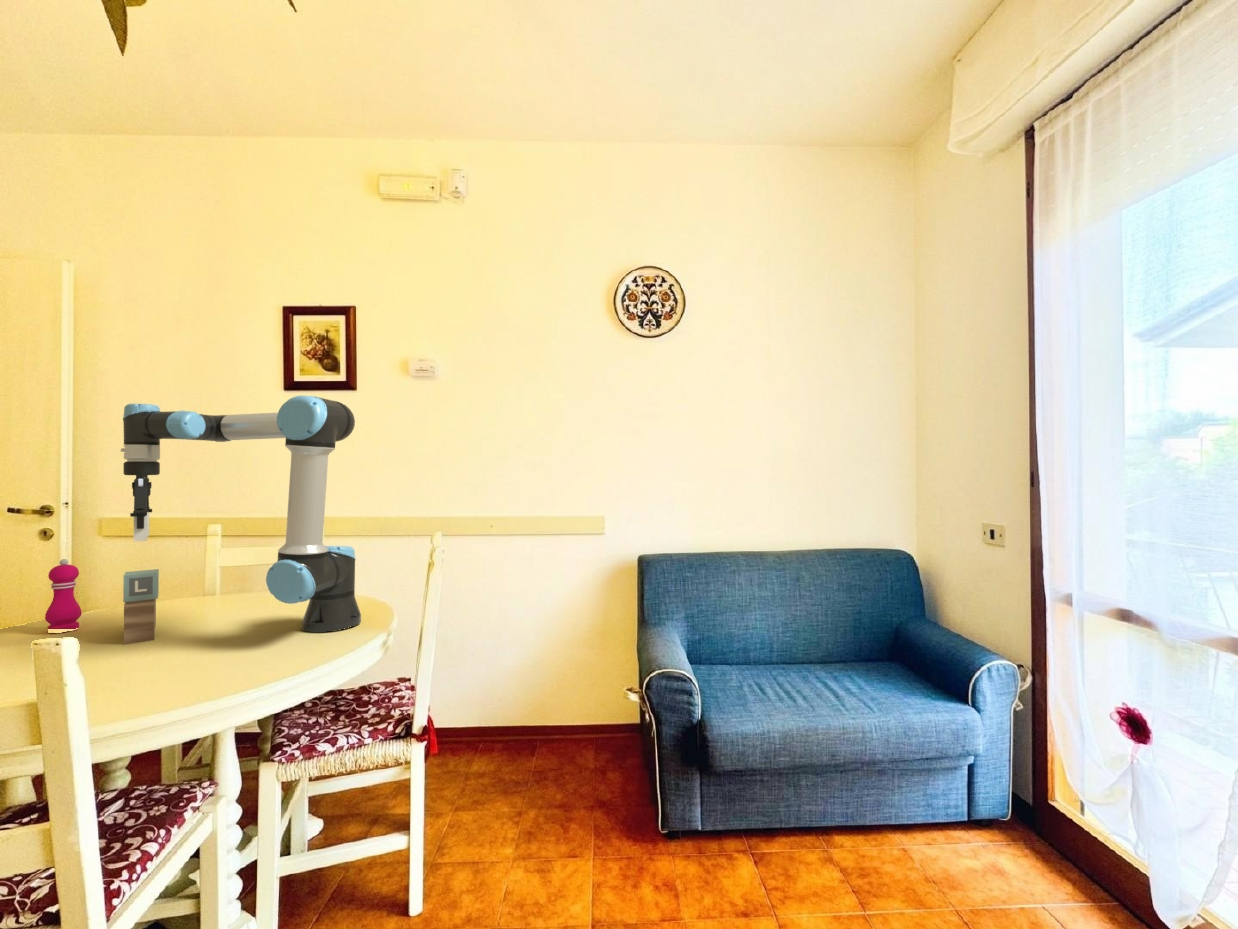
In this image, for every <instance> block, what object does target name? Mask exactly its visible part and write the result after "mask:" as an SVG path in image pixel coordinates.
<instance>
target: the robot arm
mask: <svg viewBox="0 0 1238 929" xmlns="http://www.w3.org/2000/svg"><path fill="white" fill-rule="evenodd" d="M160 408H161V407H160V406H159V405H157V404H156V405H155V404H151V403H150V404H149V403H128V404H126V405H125V406H124V409H123V418H122V420H123V447H122V448H120V452H121V453H123V459H124V460H126V461H124V462H123V475H124V476H135V478H134V480H133V482H132V483H131V489H132V497H134V498H133V512H130V518H133V542H134V543H135V542H147V541H148V537H150V513H153V508H150V495H151V492H152V491H151V489H152V481H150V479H149V476H159V475H160V473H161V472H160V471H161V470H160V469H161V463H160V461H158V460H160V459H161V443H160V442H161V440H185V441H186V440H187V441H188V440H190V441H206V442H207V441H208V442H215V443H216V442H217V443H221V442H222V443H223V442H224V443H225V442H231V441H242V440H243V441H244V440H247V441H249V440H266V439H268V440H269V439H271V440H272V439H285V441H284V442H285V444H284V446H285V447H286V449H288V451H289V452H290V454H291V455H290V456H291V457H290V468H289V469H290V471H289V485H288V498H287V499H288V501H287V517H286V530H285V532H286V533H285V542H284V544H283V545H282V546H281V547H280V548H278V550H277V561H275V562H274V563H273V564H272V566H271V567H269V568H268V570H267V572H266V575H265V577H266V578H265V580H266V581H265V582H266V586H267V589H268V591H269V593H270V595H273V597H274V599H276V600H278V601H279V602H280V603H285V604H290V605H291V604H293V605H294V604H298V603H303V602H307V601H308V604H307V607H306V611H305V613H304V615H303V618H302V621H301V622H302V623H301V624H302V625H301V626H302V628H303V629H304V630H303V629H302V630H303V631H304V632H308V631H309V633H327V632H326V631H332V632H335V631H334V630H339V629H344V628H348V627H350V626H354V627H356V626H355V625H357V624H359V623H360V622H361V623H362V614H361V610H360V608H359V606H358V605H359V604H358V603H357V599H356V597H355V596H356V595H355V594H356V593H355V591H356V590H355V587H356V585H355V584H356V583H355V582H356V554H355V553H356V552H355V549H354V548H353V547H352V546H349V545H348V546H346V545H334V546H333V545H325V544H324V543H323V540H324V538H323V537H324V524H325V508H326V496H327V495H326V492H327V480H328V479H327V478H328V465H329V464H328V463H329V455H330V454H331V453H333V451H335V450H336V442H340V441H343V440H345V439H347V438H348V437H349V436H350V435H351V434H352V433H353V431H354V429H355V424H356V423H355V422H356V420H355V415H354V413H353V412H352V410H351V409H350V408H349V407H348V406H347V405H346V404H344V403H342V402H340V401H338V400H337V401H336V400H331V399H326V398H323V397H318V396H314V395H295V396H293V397H291V398H289V399H287V400H286V401H285V402H283V404H282V405H281V406H280V407H279V409H278V411H277V412H263V413H262V412H260V413H240V414H238V413H237V414H220V415H218V414H217V415H216V414H215V415H212V414H211V415H210V414H202V413H198V412H195V411H188V410H178V411H177V410H176V411H175V410H173V411H161V409H160ZM361 623H360V624H361ZM360 624H359V625H360ZM357 626H358V625H357ZM348 629H349V628H348ZM344 630H345V629H344ZM339 631H340V630H339Z"/></svg>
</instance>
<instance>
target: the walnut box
mask: <svg viewBox="0 0 1238 929" xmlns="http://www.w3.org/2000/svg"><path fill="white" fill-rule="evenodd" d="M156 627H157V599H150V600H141V601H132V602H124V605H123V645H129V644H136V643H143V642H149V641H154V640H155V634H156Z"/></svg>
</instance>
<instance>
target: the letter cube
mask: <svg viewBox="0 0 1238 929" xmlns="http://www.w3.org/2000/svg"><path fill="white" fill-rule="evenodd" d="M159 571H160V570H159V568H157V569H155V568H154V569H145V570H143V569H142V570H133V571H131V570H130V571H125V572H124V574H123V587H122V588H123V592H122V593H123V597H122V598H123V600H122V601H123V603H125V602H132V601H141V600H150V599H156V600H157V599H159V593H160V592H159V587H160V586H159V585H160V584H159V583H160V582H159V575H160V574H159V573H160V572H159Z"/></svg>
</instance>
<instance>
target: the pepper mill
mask: <svg viewBox="0 0 1238 929" xmlns="http://www.w3.org/2000/svg"><path fill="white" fill-rule="evenodd" d="M79 575H80V572H79V568H78V567H77V566H75V565H73V564H69V560H68V559H66V558H62V559H61V560H59V565H57V566H53V567H52V568H51V569H50V570H49V572H48V576H47V577H48V580H50V581H51V582H52V583H51V584H50V586H51V587H50V589H51V590H52V591H53V598H52V601H51V602H50V604H49V606H48V608H47V610H46V612H45V614H44V615H45V616H44V619H45V620H44V621H45V622H46V623H48V624H49V625H48V626H47V628H46V629H76V628H79V629H80V622H79V621H78V620H79V618H80V617H81V616H82V608H81V607H80V604H79V603H78V602H77V599H76V598H75V592H74V591H75V587H77V580H76V579H77V578H78V577H79Z"/></svg>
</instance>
